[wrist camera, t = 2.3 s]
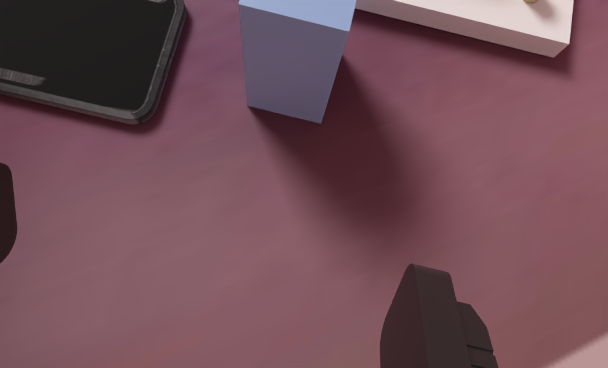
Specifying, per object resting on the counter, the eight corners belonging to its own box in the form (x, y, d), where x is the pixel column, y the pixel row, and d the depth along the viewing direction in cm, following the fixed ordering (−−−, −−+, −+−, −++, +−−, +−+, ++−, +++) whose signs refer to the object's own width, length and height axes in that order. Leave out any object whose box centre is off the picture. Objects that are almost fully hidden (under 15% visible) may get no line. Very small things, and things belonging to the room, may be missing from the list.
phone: (-87, -74, 26) (189, -9, 27) (-73, -59, 27) (192, 4, 28) (-153, 56, 24) (146, 125, 25) (-135, 67, 25) (151, 133, 26)
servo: (247, 105, 26) (236, -14, 16) (267, 32, 27) (269, -121, 18) (321, 123, 26) (354, 15, 16) (338, 49, 27) (379, -93, 18)
